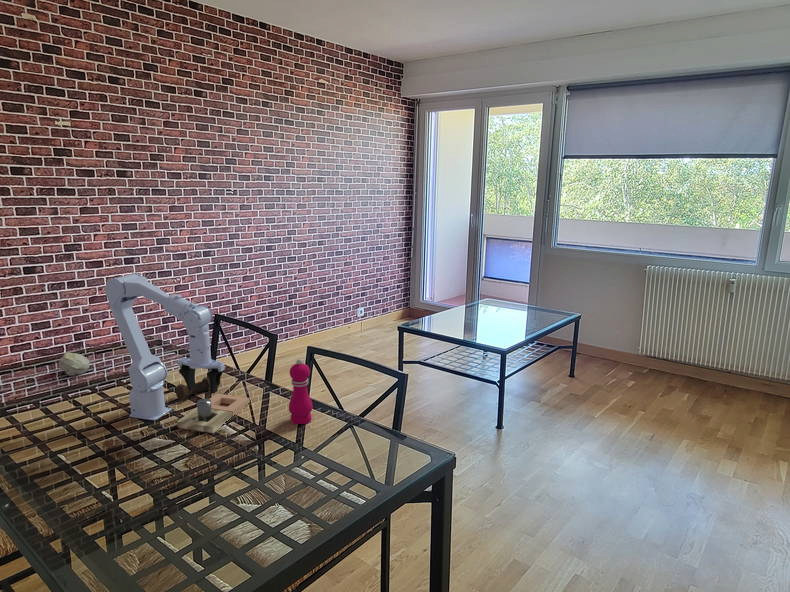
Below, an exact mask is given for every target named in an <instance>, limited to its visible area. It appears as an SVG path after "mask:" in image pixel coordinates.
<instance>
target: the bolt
mask: <svg viewBox="0 0 790 592" xmlns="http://www.w3.org/2000/svg"><path fill="white" fill-rule="evenodd" d="M221 382H222V380H221V379H220V381H219V384H218V386H220V384H221ZM204 391H205V392H211V389H210V381H209V378H208V376H206V377H203V379H202V380H201V381H198V382H195V388H194V389H193V390H191V391H189V389H188V386H187V385H186V384H183V383H179V384H177V386H176V388H175V395H176V397H177V399H178V400H179V401H182V402H185V401H187V400H188V399H189V397H190V396H192V395H194V394H197V393H199V392H204Z"/></svg>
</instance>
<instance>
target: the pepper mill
mask: <svg viewBox="0 0 790 592" xmlns="http://www.w3.org/2000/svg"><path fill="white" fill-rule="evenodd" d="M295 361H296V363H294V364H292V366H291V367H290V369H289V375H290V378H291V385H292V389H293V391H292V395H291V398H290V401H289V402H288V403H289V404H288V412H289V413H290V422H291V424H293V423H294V424H293V425H295V424H304V425H308V424H310V422H311V421H312V414H311V412H312V411H313V409H314V407H313V405H314V404H313V401H312V399H311V397H310V395H309V392H308V385H309V377H310V374H311V370H310V367H309V366H308V365H307V364H306V363H303V359H302V358H298V359H297V360H295Z"/></svg>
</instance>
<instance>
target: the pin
mask: <svg viewBox="0 0 790 592" xmlns="http://www.w3.org/2000/svg"><path fill="white" fill-rule="evenodd" d="M196 408H197V412H198V421H204V422H208V421H210V420H211V419H212V408H211V400H210V398H201V399H198V400H197V401H196Z"/></svg>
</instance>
